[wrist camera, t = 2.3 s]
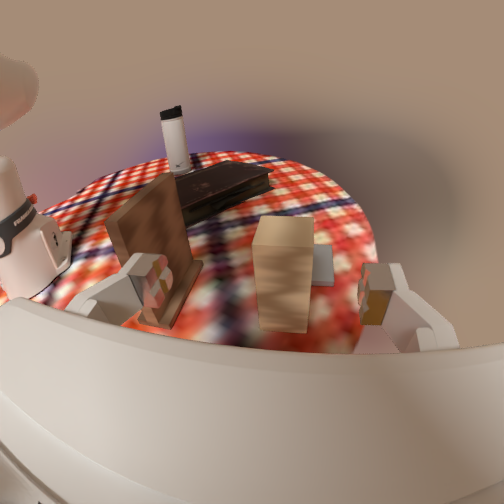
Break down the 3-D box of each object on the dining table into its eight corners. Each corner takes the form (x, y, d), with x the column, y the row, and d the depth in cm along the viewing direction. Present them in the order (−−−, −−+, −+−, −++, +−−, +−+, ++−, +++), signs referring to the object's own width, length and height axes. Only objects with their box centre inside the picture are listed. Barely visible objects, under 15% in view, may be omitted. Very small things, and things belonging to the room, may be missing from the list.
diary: (142, 210, 59) (136, 190, 56) (227, 176, 72) (225, 158, 69) (178, 237, 47) (171, 212, 44) (278, 191, 59) (276, 169, 57)
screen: (170, 329, 29) (128, 221, 21) (139, 323, 30) (93, 222, 22) (203, 265, 39) (183, 171, 31) (176, 263, 40) (152, 174, 32)
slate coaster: (270, 283, 35) (270, 278, 34) (277, 247, 41) (277, 242, 41) (333, 286, 33) (334, 281, 33) (331, 249, 39) (331, 245, 39)
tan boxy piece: (259, 330, 29) (251, 244, 22) (267, 296, 33) (261, 214, 26) (306, 333, 28) (313, 247, 21) (308, 299, 32) (313, 216, 25)
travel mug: (182, 175, 73) (171, 107, 62) (166, 175, 76) (154, 110, 65) (196, 168, 78) (186, 103, 66) (180, 167, 80) (169, 106, 69)
